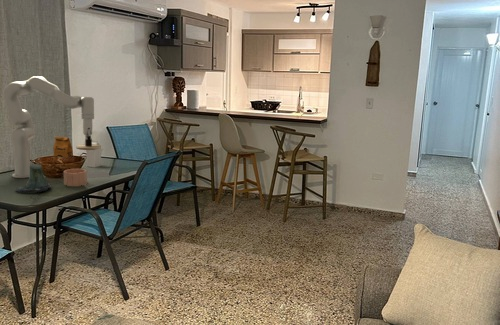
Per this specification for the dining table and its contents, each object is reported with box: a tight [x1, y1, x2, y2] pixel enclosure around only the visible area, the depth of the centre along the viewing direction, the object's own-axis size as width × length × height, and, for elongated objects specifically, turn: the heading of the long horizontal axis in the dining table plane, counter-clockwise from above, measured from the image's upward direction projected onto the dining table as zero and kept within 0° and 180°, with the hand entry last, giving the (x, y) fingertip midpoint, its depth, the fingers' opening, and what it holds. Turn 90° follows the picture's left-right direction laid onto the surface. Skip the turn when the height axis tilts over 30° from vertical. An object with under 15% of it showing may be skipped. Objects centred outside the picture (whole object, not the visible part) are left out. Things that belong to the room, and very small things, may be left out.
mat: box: [87, 170, 111, 179], centre depth 294 cm, size 16×16×1 cm
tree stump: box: [15, 163, 52, 194], centre depth 252 cm, size 18×20×18 cm
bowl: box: [63, 168, 88, 187], centre depth 270 cm, size 13×13×8 cm
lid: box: [75, 137, 102, 151], centre depth 282 cm, size 15×15×6 cm
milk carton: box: [85, 140, 102, 168], centre depth 318 cm, size 7×7×19 cm
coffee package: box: [52, 136, 74, 157], centre depth 309 cm, size 10×12×22 cm
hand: (88, 144), depth 282 cm, fingers closed on lid, 4 cm apart
